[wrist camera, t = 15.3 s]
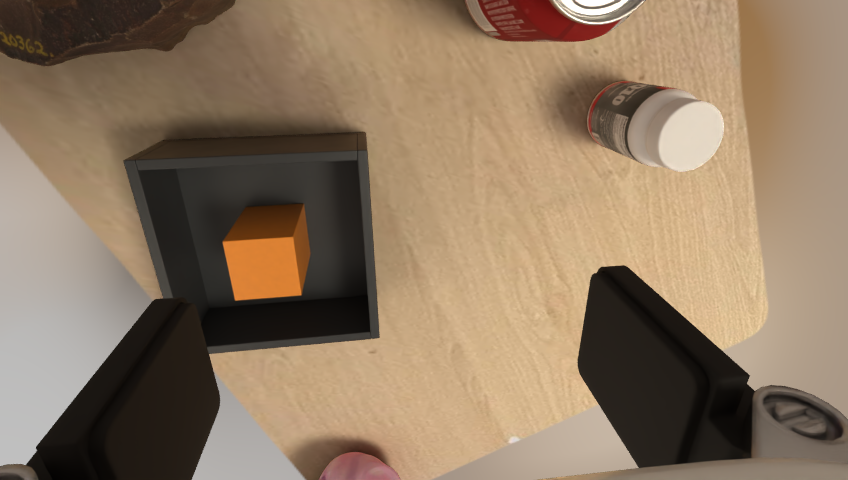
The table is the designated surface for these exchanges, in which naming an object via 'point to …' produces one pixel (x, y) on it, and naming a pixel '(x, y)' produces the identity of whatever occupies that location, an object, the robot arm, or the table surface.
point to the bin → (262, 186)
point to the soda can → (549, 18)
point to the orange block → (268, 252)
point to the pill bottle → (655, 125)
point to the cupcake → (358, 468)
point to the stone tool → (97, 26)
